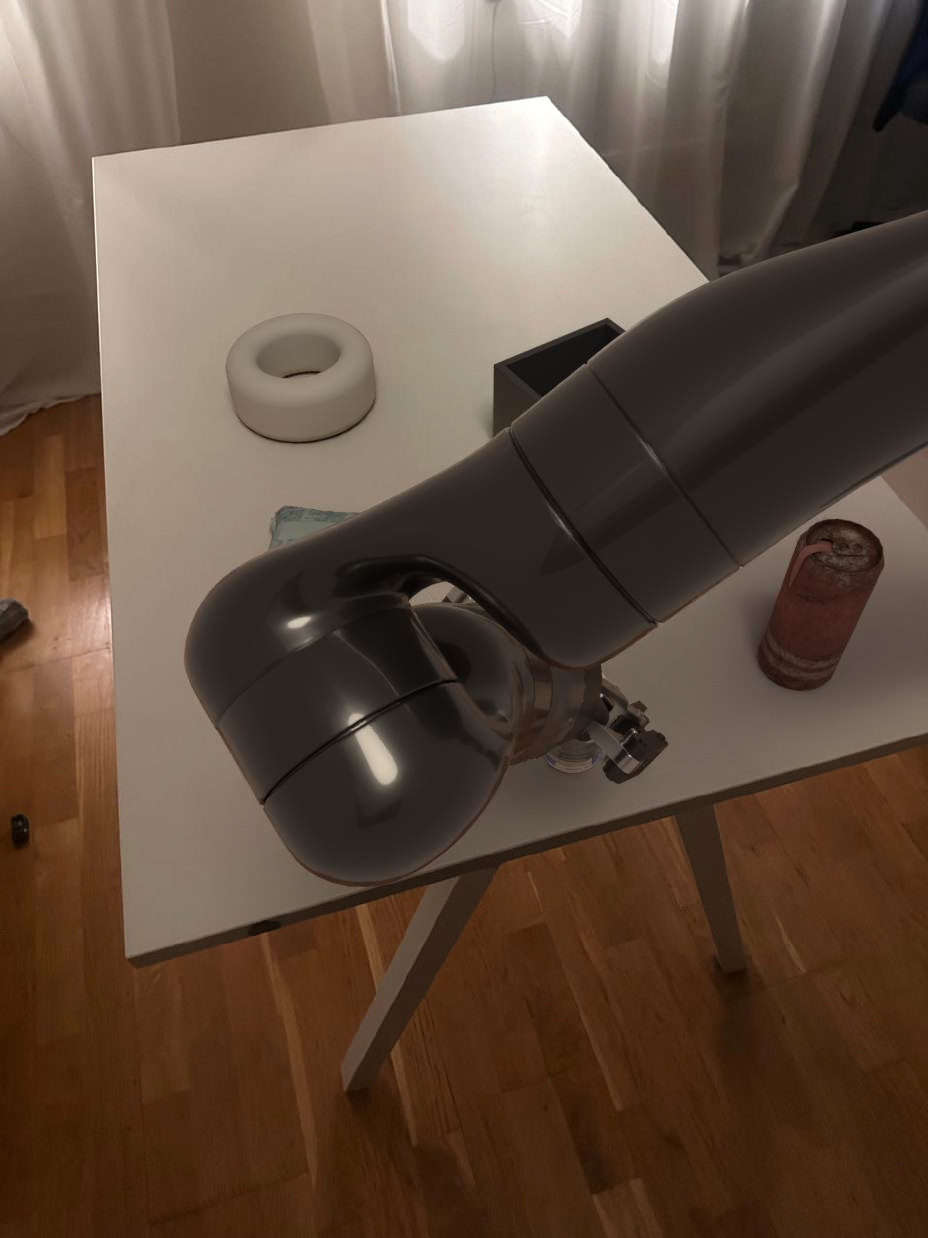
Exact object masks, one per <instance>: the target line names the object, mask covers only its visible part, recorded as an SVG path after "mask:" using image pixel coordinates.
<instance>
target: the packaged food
mask: <svg viewBox="0 0 928 1238" xmlns="http://www.w3.org/2000/svg"><path fill="white" fill-rule="evenodd" d="M358 513H360V512H359V511H358V512H351V511H350V512H349V511H347V512H345V511H332V510H320V509H314V508H306V507H303V506H292V505H283V506H281V507H280V508H279V509H278V510H277V511H276V512H274V517H270V520H269V522H268V524H269V531H270V532H271V533H272V537H271V540H270V542H269V546H268V549H267V551H269V550H271V549H274V548H276V547H278V546H281V545H283V544H286V543H288V542H291V541H293V540H295V539H298V538H300V537H303V536H305V535H308V534H310V533H313V532H315V531H318V530H321V529H323V528H326V527H328V526H331V525H333V524H336V523H338V522H340V521H343V520H345V519H347V518H349V517H352V516H354V515H356V514H358Z"/></svg>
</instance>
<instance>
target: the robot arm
mask: <svg viewBox="0 0 928 1238" xmlns="http://www.w3.org/2000/svg"><path fill="white" fill-rule="evenodd" d="M927 449H928V209H925V210H922V211H918V212H916V213H913V214H910V215H906V216H904V217H900V218H898V219H894V220H890V221H887V222H884V223H881V224H877V225H874V226H871V227H867V228H863V229H861V230H858V231H853V232H851V233H848V234H845V235H840V236H837V237H834V238H831V239H828V240H825V241H822V242H818V243H815V244H811V245H809V246H806V247H802V248H799V249H795V250H792V251H789V252H786V253H783V254H780V255H776V256H774V257H770V258H767V259H765V260H760V261H759V262H755V263H753V264H751V265H748V266H745V267H743V268H739V269H737V270H734V271H731V272H729V273H727V274H725V275H723V276H721V277H720V276H719V277H718V278H716V279H712V280H711V281H708V282H706V283H704V284H702V285H700V286H698V287H696V288H694V289H692V290H690V291H688V292H686V293H684V294H681V295H680V296H678V297H676V298H675V299H673V300H671V301H669V302H668V303H666V304H664V305H663V306H661V307H660V308H658V309H656V310H654V311H652V312H651V313H649V314H648V315H646V316H645V317H643V318H642V319H640V320H639V321H637V322H636V323H635V324H633V325H632V326H631V327H629V328H628V329H626V330H625V332H624V333H622V334H621V335H620V336H618V337H617V338H615V339H614V340H613V341H612V342H610V343H609V344H608V345H607V346H606V347H604V348H603V349H602V350H601V351H599V352H598V353H597V354H596V355H594V356H593V357H592V358H591V359H589V360H588V363H587V364H583V365H582V366H581V367H580V368H578V369H577V370H576V371H575V372H573V373H572V374H571V375H570V376H568V377H567V378H566V379H565V380H564V381H562V382H561V383H560V384H559V385H557V386H556V387H555V388H554V389H552V390H551V391H550V392H549V393H547V394H546V395H545V396H544V397H543V398H541V399H540V400H539V401H538V402H536V403H535V404H534V405H533V406H531V407H530V408H529V409H528V410H527V411H525V412H524V413H523V414H522V415H520V416H519V417H518V418H517V419H515V420H514V421H513V422H512V424H511V427H507V428H504V429H503V430H502V431H501V432H499V433H498V434H497V435H496V436H495V437H493V436H492V438H491V439H489V440H488V441H487V442H486V443H485V444H483V445H482V446H480V447H479V448H478V449H476V450H474V451H473V452H471V453H470V454H469V455H467V456H465V457H464V458H462V459H461V460H459V461H457V462H455V463H454V464H452V465H450V466H448V467H447V468H446V469H443V470H441V471H440V472H438V473H436V474H434V475H432V476H430V477H429V478H427V479H425V480H423V481H421V482H419V483H418V484H416V485H414V486H412V487H410V488H408V489H406V490H404V491H402V492H400V493H398V494H396V495H394V496H392V497H390V498H388V499H386V500H384V501H382V502H380V503H378V504H376V505H374V506H372V507H370V508H368V509H366V510H362V511H361V512H359V513H358V514H356V515H354V516H352V517H349V518H347V519H345V520H343V521H340V522H338V523H336V524H333V525H331V526H328V527H326V528H323V529H321V530H318V531H315V532H313V533H310V534H308V535H305V536H303V537H300V538H298V539H295V540H293V541H291V542H288V543H286V544H283V545H281V546H278V547H276V548H274V549H271V550H269V551H268V550H267V551H265V552H263V553H261V554H258V555H257V556H255V557H253V558H251V559H248V560H247V561H245V562H243V563H242V564H240V565H238V566H237V567H235V568H234V569H232V570H231V571H230V572H228V573H227V574H226V575H224V576H223V577H222V578H221V579H220V580H218V582H217V583H215V584H214V586H213V587H212V588H211V589H210V590H209V591H208V592H207V594H206V596H205V597H204V598H203V600H202V601H201V603H200V605H199V606H198V607H197V609H196V611H195V614H194V616H193V618H192V620H191V622H190V624H189V628H188V630H187V635H186V638H185V642H184V650H183V664H184V669H185V670H184V671H185V674H186V676H187V679H188V681H189V682H188V683H189V685H190V687H191V689H192V691H193V692H194V694H195V696H196V698H197V700H198V701H199V703H200V705H201V707H202V709H203V710H204V712H205V714H206V715H207V717H208V719H209V721H210V722H211V724H212V726H213V727H214V729H215V731H217V733H218V734H219V736H220V739H221V740H222V742H223V744H224V745H225V748H226V749H227V750H228V752H229V754H230V755H231V757H232V759H233V761H234V763H235V764H236V766H237V767H238V770H239V771H240V773H241V774H242V776H243V778H244V780H245V781H246V783H247V785H248V787H249V788H250V791H251V792H252V794H253V796H254V797H255V799H256V801H257V803H258V804H259V805H260V806H263V807H262V810H263V812H264V814H265V816H266V818H267V819H268V821H269V823H270V825H271V826H272V828H273V830H274V831H275V834H276V835H277V836H278V838H279V840H280V842H281V843H282V845H283V846H284V848H285V849H286V850H287V852H288V854H290V855H291V856H292V858H293V859H294V861H296V863H298V864H299V865H300V866H301V867H303V868H304V869H305V870H306V871H307V872H309V873H310V874H312V875H314V876H315V877H317V878H318V879H322V880H324V881H327V882H329V883H331V884H335V885H339V886H344V887H349V888H374V887H375V888H376V887H380V886H384V885H388V884H392V883H395V882H397V881H400V880H403V879H405V878H407V877H410V876H411V875H413V874H415V873H417V872H419V871H421V870H422V869H424V868H426V867H427V866H428V865H430V864H432V863H433V862H434V861H436V860H438V859H439V858H441V856H443V855H444V854H445V853H446V852H448V851H449V850H450V849H451V848H452V847H453V846H454V845H456V843H458V842H459V841H460V839H462V838H463V837H464V835H466V833H468V831H469V830H470V829H471V828H472V827H473V825H474V824H475V823H476V822H477V821H478V820H479V818H480V817H481V815H482V814H483V813H484V812H485V811H486V809H487V807H488V806H489V804H490V803H491V801H492V799H493V798H494V797H495V795H496V793H497V791H498V790H499V788H500V786H501V784H502V782H503V779H504V777H505V775H506V774H507V771H508V769H509V767H513V766H516V765H519V764H522V763H525V762H527V761H532V760H539V759H540V758H542V757H544V755H545V754H547V753H548V752H550V751H551V750H552V749H553V748H555V747H558V746H560V745H562V744H564V743H566V742H568V741H570V740H571V739H573V738H574V739H577V740H579V741H583V742H585V743H593V742H595V743H596V744H597V745H598V746H599V747H600V748H601V749H602V752H604V754H605V755H604V756H602V758H601V762H602V763H603V764H604V765H603V766H602V767H601V770H602V771H603V773H604V776H605V777H606V779H608V780H609V781H610V782H612V783H614V784H616V785H621V784H624V783H625V782H628V781H629V780H632V779H634V778H636V777H638V776H640V775H641V774H642V773H643V772H644V771H645V770H646V769H647V768H648V766H650V765H651V764H652V763H653V762H654V760H655V759H657V758H658V756H660V755H661V754H662V753H663V751H664V750H665V749H666V748H667V747H668V746H669V745H670V744H669V742H668V740H666V739H667V737H665V735H664V734H663V733H662V732H660V731H657V730H656V729H649V730H646V728H647V726H648V725H649V724H650V723H651V721H650V718H649V717H648V716H647V715H645V713H646V711H647V710H648V707H647V706H646V705H645V704H644V703H643V701H641V700H636V701H634V702H632V703H630V701H629V699H628V698H627V697H626V695H625V694H624V693H623V692H622V691H621V689H620V688H619V687H618V686H617V685H616V684H614V683H612V682H611V681H609V680H608V679H607V678H606V677H605V678H606V679H605V678H603V677H602V673H603V669H602V665H603V664H605V663H606V662H609V661H610V660H611V659H614V658H615V657H617V656H619V655H620V654H621V653H623V652H625V651H626V650H627V649H629V648H630V647H632V646H633V645H636V643H637V642H639V641H640V640H642V639H643V638H644V637H646V636H647V635H649V634H650V633H651V632H653V631H654V630H655V629H658V628H659V627H658V626H659V624H664V623H666V622H667V621H669V620H670V619H672V618H673V617H674V616H676V615H678V613H680V612H681V611H683V610H684V609H686V608H687V607H689V606H690V605H691V604H693V603H695V602H696V601H697V600H699V599H700V598H701V597H703V596H704V595H706V594H707V593H709V592H710V591H711V590H713V589H714V588H715V587H717V586H718V585H720V584H721V583H723V582H724V581H726V580H727V579H728V578H730V577H732V575H734V574H735V573H737V572H738V571H740V569H741V568H745V567H746V565H748V564H749V563H751V562H752V561H754V560H755V559H757V558H758V557H759V556H761V555H762V554H763V553H765V552H767V551H768V550H769V549H770V548H772V547H773V546H775V545H776V544H778V543H779V542H780V541H782V540H783V539H785V538H786V537H788V536H789V535H790V534H792V533H793V532H795V531H796V530H798V528H800V527H801V526H803V525H805V524H806V523H808V522H809V521H812V519H814V518H815V517H817V516H818V515H820V514H822V513H823V512H825V511H826V510H828V509H829V508H831V507H832V506H834V505H836V504H837V503H839V502H840V501H841V500H843V499H845V498H846V497H848V496H849V495H850V494H852V493H854V492H855V491H857V490H858V489H860V488H861V487H863V486H865V485H867V484H868V483H870V482H872V481H874V480H875V479H877V478H878V477H880V476H882V475H883V474H886V473H887V472H889V471H890V470H892V469H893V468H895V467H897V466H898V465H900V464H903V462H905V461H906V460H909V459H910V458H912V457H913V456H915V455H917V454H919V453H921V452H923V451H924V450H927ZM441 583H448V584H451V585H452V586H453V587H452V588H451V589H450V590H449V592H448V593H447V594H446V596H444V597H443V599H442V600H441V601H439V602H438V601H437V602H426V603H419V604H415V605H412V604H411V600H412V599H413V597H415V596H416V595H418V594H419V593H420V592H422V591H424V590H425V589H427V588H429V587H431V586H434V585H437V584H441ZM601 694H603V696H602V697H600V695H601Z"/></svg>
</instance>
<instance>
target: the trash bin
mask: <svg viewBox="0 0 928 1238" xmlns="http://www.w3.org/2000/svg"><path fill="white" fill-rule="evenodd" d="M625 331H626V329H624V328H623V327H621V326H620V325H618V324H617V323H616V322H614V321H613V320H612V319H611V318H610V317H605V318H602V319H600V320H597V321H595V322H593V323H591V324H587V325H585V326H584V327H581V328H578V329H576V330H574V331H571V332H569V333H567V334H564V335H562V336H559V337H557V338H554V339H552V340H548V341H546V342H544V343H542V344H539V345H537V346H534V347H533V348H530V349H528V350H526V351H525V350H524V351H523V352H520V353H518V354H515V355H514V356H511V357H508V358H506V359H503V360H501V361H499V362H496V363H494V364H493V387H492V389H493V390H492V394H493V395H492V396H493V397H492V403H493V404H492V438H493V437H495V436H496V435H497V434H498V433H499V432H501V431H502V430H503V429H504V428H507V427H511V424H512V422H513V421H514V420H515V419H517V418H518V417H519V416H520V415H522V414H523V413H524V412H525V411H527V410H528V409H529V408H530V407H531V406H533V405H534V404H535V403H536V402H538V401H539V400H540V399H541V398H543V397H544V396H545V395H546V394H547V393H549V392H550V391H551V390H552V389H554V388H555V387H556V386H557V385H559V384H560V383H561V382H562V381H564V380H565V379H566V378H567V377H568V376H570V375H571V374H572V373H573V372H575V371H576V370H577V369H578V368H580V367H581V366H582V365H583V364H587V363H588V360H589V359H591V358H592V357H593V356H594V355H596V354H597V353H598V352H599V351H601V350H602V349H603V348H604V347H606V346H607V345H608V344H609V343H610V342H612V341H613V340H614V339H615V338H617V337H618V336H620V335H621V334H622V333H624V332H625Z"/></svg>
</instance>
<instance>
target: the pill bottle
mask: <svg viewBox="0 0 928 1238" xmlns="http://www.w3.org/2000/svg"><path fill="white" fill-rule="evenodd" d="M602 677H603V678H605V679H606V680H607V678H606V676H605V674H604V673H603V672H602ZM602 696H603V694H601V695H600V697H602ZM602 753H603V750H602V749H601V748H600V747H599V746H598V745H597V744H596V743H595V742H593V743H585V742H583V741H579V740H577V739H574V738H573V739H571V740H570V741H568V742H566V743H564V744H562V745H560V746H558V747H555V748H553V749H552V750H551V751H550V752H548V753H547V754H545V755H543V757H544V759H545V760H546V762H547V763H548V764H549V765H550V766H551V767H553V768H554V769H556V770H557V771H560V772H563V773H566V774H567V773H569V774H579V773H583V772H586V771H588V770H590V769H592V768H593V767H594V766H596V764H597V763H598V762H599V760H600V759H601V756H602Z"/></svg>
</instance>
